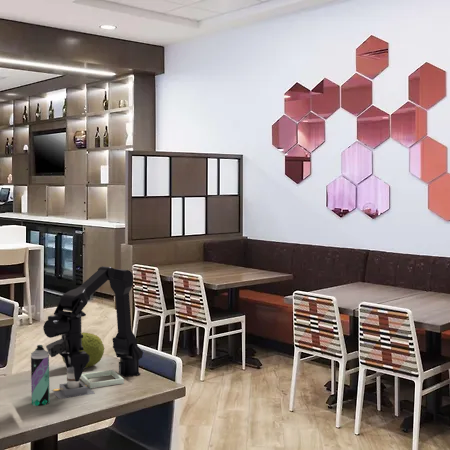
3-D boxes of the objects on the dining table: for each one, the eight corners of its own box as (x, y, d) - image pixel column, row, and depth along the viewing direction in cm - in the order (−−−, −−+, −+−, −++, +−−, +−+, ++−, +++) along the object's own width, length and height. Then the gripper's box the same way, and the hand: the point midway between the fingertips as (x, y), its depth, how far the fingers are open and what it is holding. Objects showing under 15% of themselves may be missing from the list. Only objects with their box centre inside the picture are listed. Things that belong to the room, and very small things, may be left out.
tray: (113, 378, 238) (112, 369, 238) (123, 387, 228) (123, 378, 228) (80, 382, 233) (80, 374, 233) (90, 392, 222) (90, 383, 222)
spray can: (31, 405, 209) (30, 344, 208) (48, 403, 211) (47, 342, 210) (32, 411, 204) (31, 348, 203) (50, 409, 206) (49, 346, 205)
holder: (86, 389, 226) (86, 379, 225) (95, 397, 217) (95, 387, 217) (51, 394, 220) (51, 384, 220) (58, 403, 211) (58, 392, 211)
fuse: (77, 389, 221) (77, 365, 221) (81, 392, 218) (80, 368, 217) (65, 390, 219) (65, 367, 219) (68, 394, 216) (68, 370, 215)
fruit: (79, 359, 262) (97, 327, 262) (98, 379, 254) (117, 346, 253) (47, 355, 250) (66, 321, 249) (67, 376, 241) (87, 340, 240)
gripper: (41, 328, 222) (42, 373, 223) (54, 340, 205) (55, 389, 206) (74, 324, 227) (75, 369, 228) (89, 336, 210) (90, 384, 211)
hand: (73, 377), depth 218 cm, fingers open, 9 cm apart
